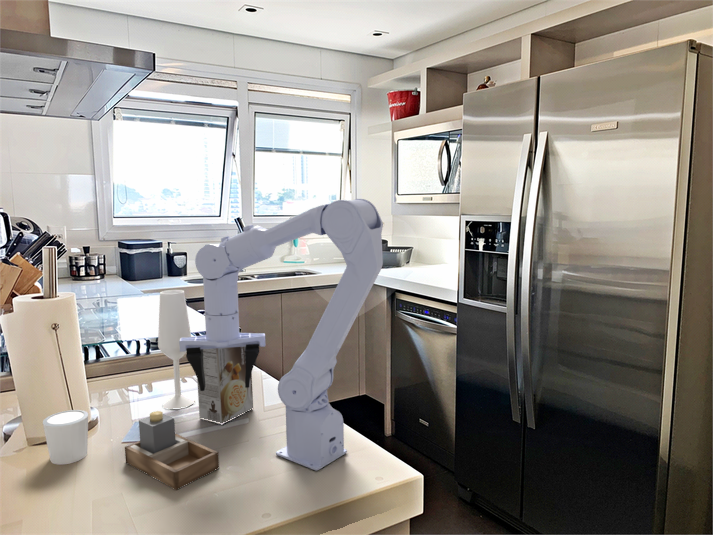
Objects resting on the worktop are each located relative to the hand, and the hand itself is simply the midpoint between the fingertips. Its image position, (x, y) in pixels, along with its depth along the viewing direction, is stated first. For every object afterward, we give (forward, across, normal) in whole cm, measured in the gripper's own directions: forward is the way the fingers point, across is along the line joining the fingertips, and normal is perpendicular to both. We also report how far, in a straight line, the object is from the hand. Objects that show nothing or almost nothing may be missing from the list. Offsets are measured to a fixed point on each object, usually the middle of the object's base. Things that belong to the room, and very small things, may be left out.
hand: (225, 387), depth 97 cm
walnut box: (+10, -9, -8) cm, 15 cm away
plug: (+9, -11, -5) cm, 15 cm away
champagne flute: (+10, -11, +20) cm, 25 cm away
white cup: (+10, -26, 0) cm, 28 cm away
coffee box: (+10, -1, +12) cm, 16 cm away
